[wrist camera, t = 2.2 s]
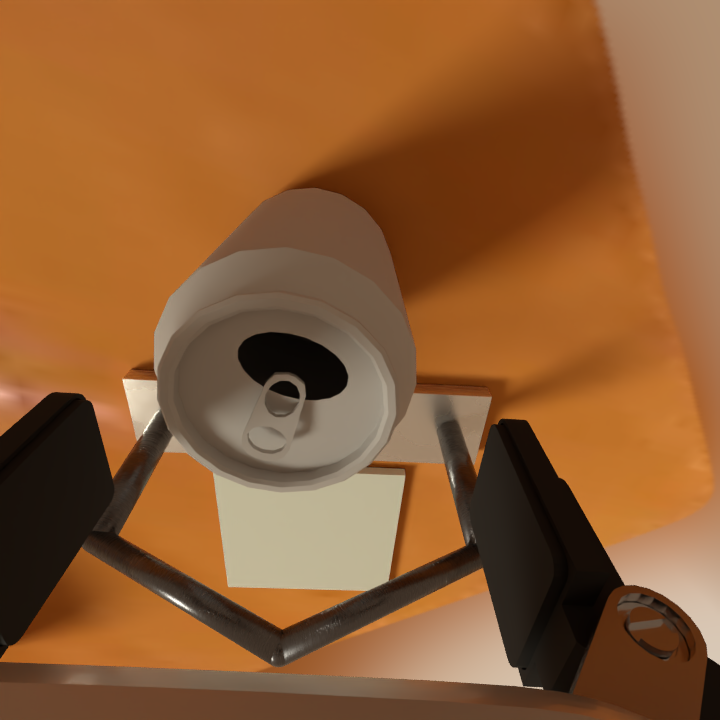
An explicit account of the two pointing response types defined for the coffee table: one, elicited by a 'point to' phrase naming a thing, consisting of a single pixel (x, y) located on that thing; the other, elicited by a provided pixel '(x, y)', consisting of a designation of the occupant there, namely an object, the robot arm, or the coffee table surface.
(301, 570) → the pad
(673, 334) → the coffee table surface
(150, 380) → the plate with bar handle
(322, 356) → the can
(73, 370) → the coffee table surface
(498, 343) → the coffee table surface
